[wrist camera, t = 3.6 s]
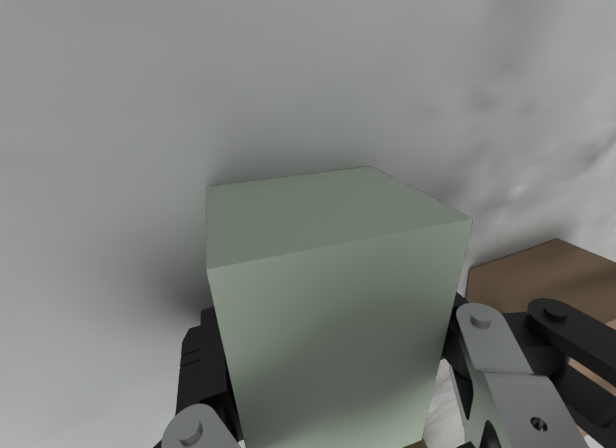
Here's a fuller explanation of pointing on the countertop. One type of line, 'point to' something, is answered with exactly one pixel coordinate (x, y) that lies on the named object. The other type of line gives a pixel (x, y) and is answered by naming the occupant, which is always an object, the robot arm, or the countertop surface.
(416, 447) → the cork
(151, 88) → the countertop surface
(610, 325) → the base brick
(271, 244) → the sage brick
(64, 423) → the countertop surface
